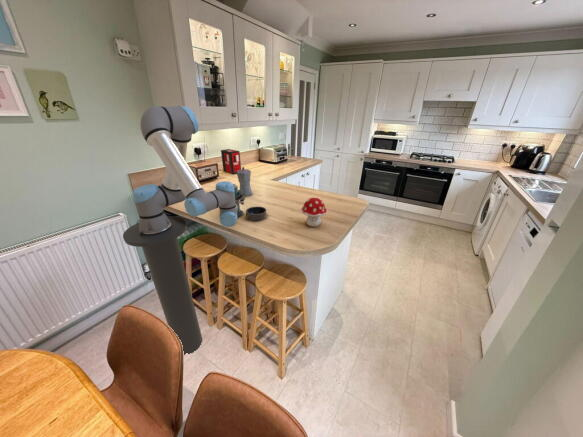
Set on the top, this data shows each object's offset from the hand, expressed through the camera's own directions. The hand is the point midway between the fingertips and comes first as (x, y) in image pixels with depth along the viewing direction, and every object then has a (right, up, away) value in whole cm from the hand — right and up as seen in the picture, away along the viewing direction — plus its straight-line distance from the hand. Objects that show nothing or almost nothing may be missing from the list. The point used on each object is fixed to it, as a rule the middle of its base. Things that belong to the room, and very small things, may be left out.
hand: (231, 192), depth 136 cm
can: (+1, -11, 0) cm, 11 cm away
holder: (+15, -14, -2) cm, 21 cm away
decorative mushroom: (+47, -19, -10) cm, 51 cm away
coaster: (+1, -13, +1) cm, 13 cm away
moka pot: (+2, +2, +32) cm, 32 cm away
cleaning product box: (-22, +29, +87) cm, 95 cm away
